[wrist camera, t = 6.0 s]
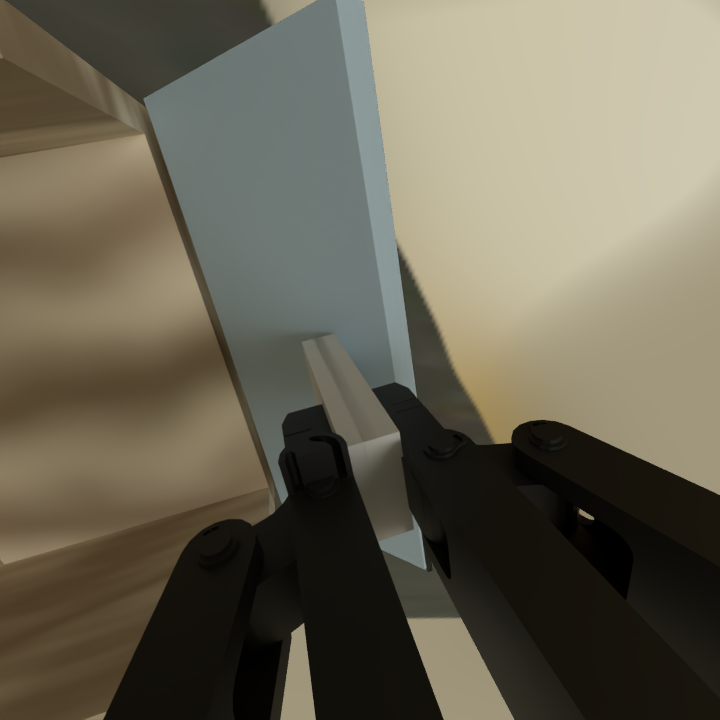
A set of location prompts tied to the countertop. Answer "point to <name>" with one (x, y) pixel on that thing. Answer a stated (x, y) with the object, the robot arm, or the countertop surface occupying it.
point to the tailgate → (292, 212)
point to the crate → (99, 383)
